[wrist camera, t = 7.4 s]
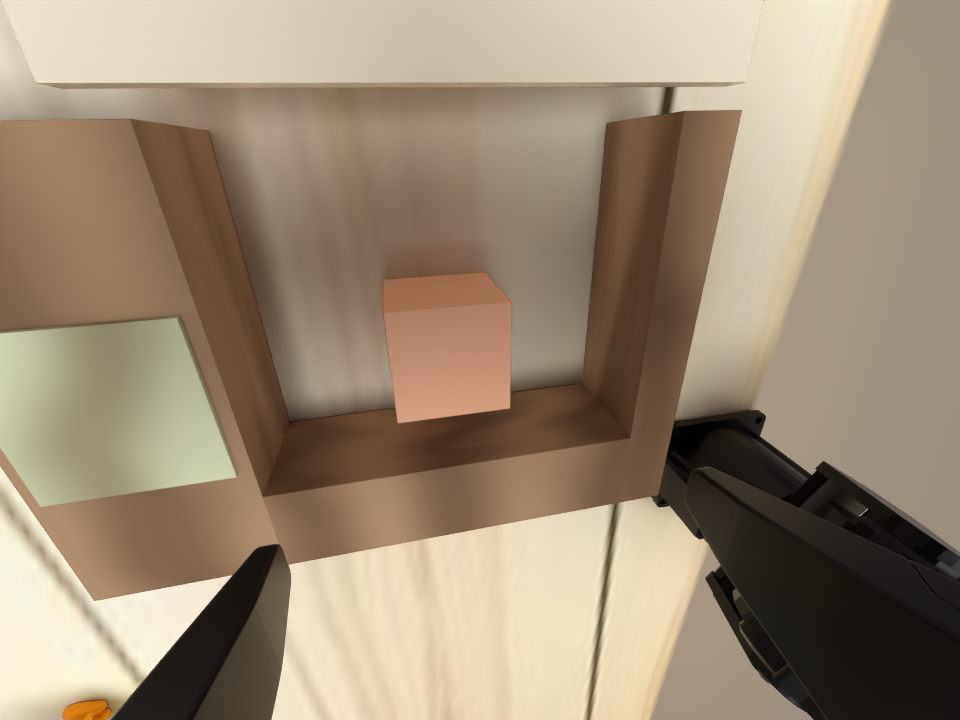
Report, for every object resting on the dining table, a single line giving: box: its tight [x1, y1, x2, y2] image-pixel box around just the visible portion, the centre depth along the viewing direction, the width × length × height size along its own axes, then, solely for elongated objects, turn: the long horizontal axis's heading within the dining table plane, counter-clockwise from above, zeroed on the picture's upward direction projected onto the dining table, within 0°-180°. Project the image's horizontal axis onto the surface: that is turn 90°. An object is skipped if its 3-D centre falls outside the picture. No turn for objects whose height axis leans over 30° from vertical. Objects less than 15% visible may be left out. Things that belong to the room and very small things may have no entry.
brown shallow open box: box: [0, 110, 742, 601], centre depth 17 cm, size 24×16×5 cm, turn 91°
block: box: [383, 272, 512, 423], centre depth 17 cm, size 4×4×4 cm
